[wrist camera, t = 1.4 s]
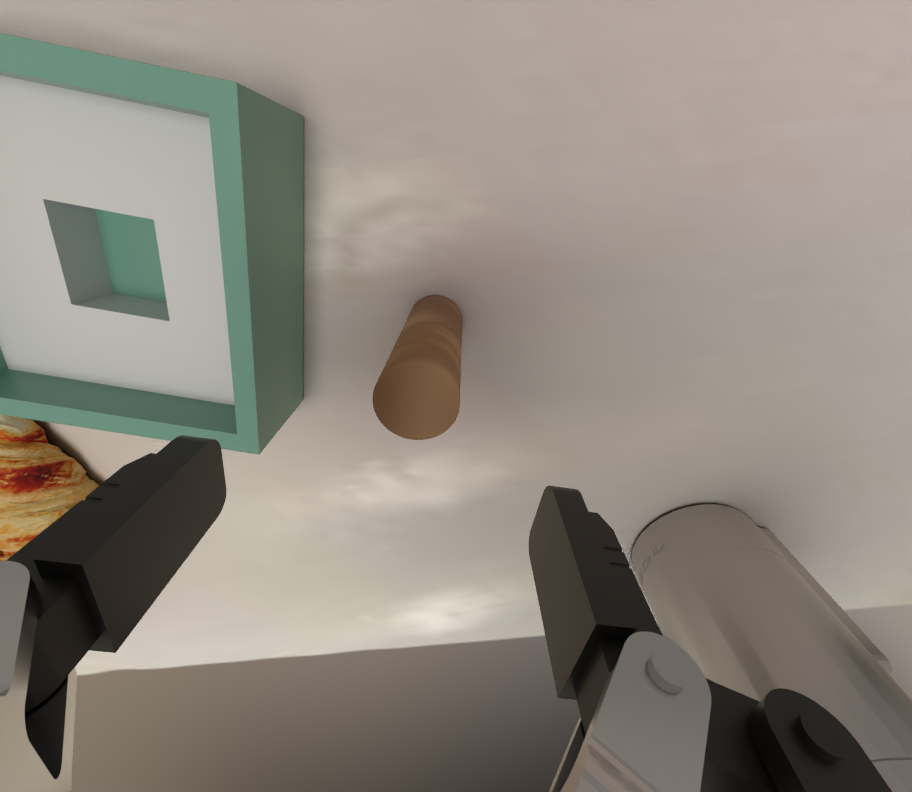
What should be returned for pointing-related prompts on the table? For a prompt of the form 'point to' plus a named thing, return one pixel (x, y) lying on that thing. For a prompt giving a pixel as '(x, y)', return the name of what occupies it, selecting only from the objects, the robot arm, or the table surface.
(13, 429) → the croissant
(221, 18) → the table surface
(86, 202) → the box
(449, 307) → the peg
